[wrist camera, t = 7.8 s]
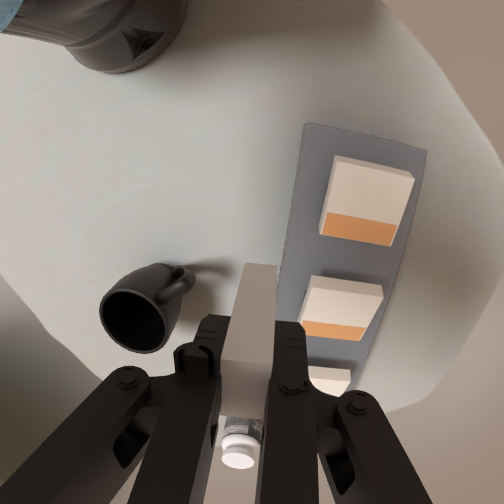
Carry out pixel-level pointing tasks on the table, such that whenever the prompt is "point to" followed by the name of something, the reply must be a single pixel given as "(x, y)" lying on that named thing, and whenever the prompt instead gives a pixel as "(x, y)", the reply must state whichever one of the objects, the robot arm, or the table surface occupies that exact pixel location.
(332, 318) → the switch
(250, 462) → the pill bottle
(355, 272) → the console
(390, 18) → the table surface
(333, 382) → the switch
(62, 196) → the table surface
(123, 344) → the mug
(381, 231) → the switch
